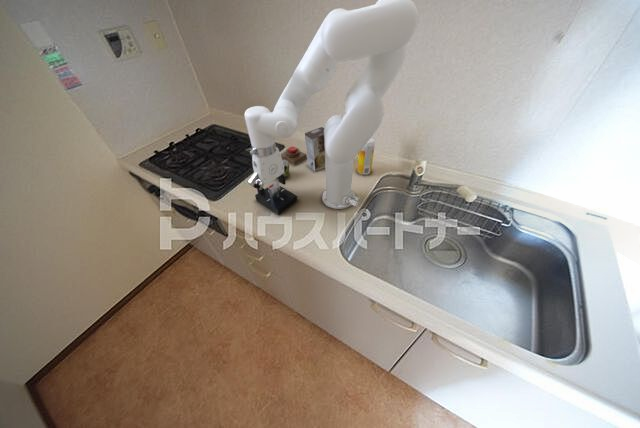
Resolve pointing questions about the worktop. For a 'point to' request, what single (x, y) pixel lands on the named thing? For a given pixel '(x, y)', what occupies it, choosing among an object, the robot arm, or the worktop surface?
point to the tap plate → (277, 200)
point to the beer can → (366, 158)
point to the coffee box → (315, 149)
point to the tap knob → (274, 190)
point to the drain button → (292, 149)
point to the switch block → (293, 156)
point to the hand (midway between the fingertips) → (272, 189)
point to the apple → (286, 170)
